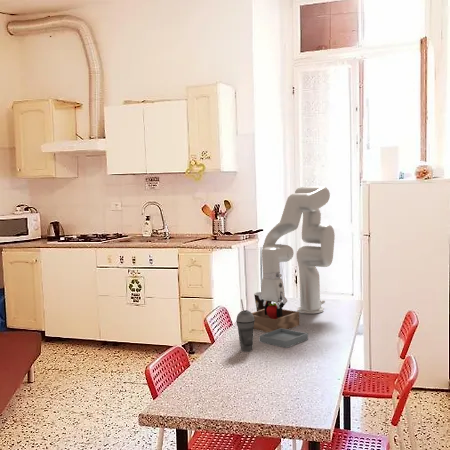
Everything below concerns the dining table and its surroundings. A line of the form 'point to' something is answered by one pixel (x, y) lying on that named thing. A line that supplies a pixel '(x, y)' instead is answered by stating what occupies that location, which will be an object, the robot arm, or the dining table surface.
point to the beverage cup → (245, 329)
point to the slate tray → (283, 337)
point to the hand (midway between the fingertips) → (273, 315)
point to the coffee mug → (259, 301)
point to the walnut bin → (275, 321)
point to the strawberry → (272, 311)
